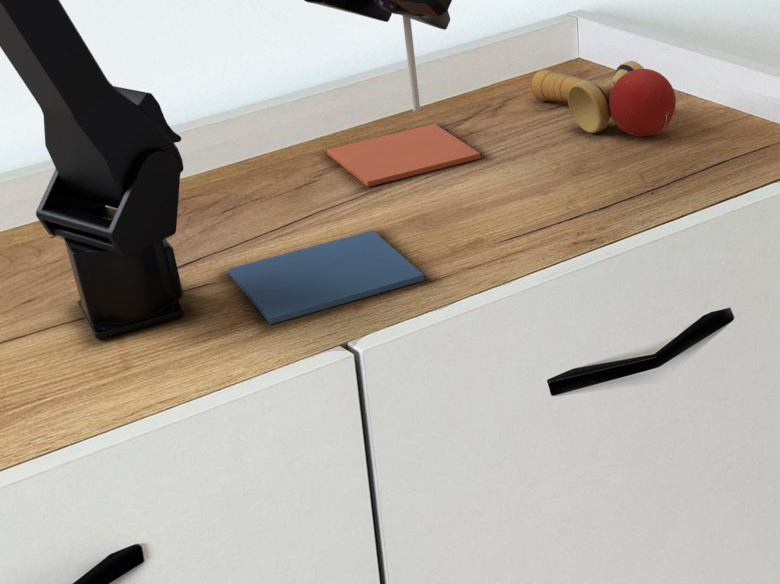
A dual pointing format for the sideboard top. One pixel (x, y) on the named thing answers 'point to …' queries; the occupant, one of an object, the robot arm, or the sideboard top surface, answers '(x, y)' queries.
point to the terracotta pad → (402, 154)
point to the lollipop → (389, 4)
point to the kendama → (613, 99)
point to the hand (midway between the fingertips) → (417, 20)
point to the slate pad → (324, 276)
